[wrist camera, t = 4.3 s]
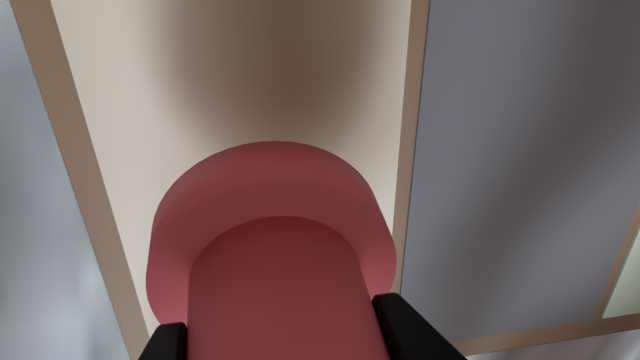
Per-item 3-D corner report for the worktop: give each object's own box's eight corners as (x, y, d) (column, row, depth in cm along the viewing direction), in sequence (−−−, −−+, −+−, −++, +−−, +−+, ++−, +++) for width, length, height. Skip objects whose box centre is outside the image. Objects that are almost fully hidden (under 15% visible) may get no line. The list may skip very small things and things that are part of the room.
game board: (147, 397, 17) (146, 409, 16) (-77, -279, 8) (-89, -282, 7) (773, 300, 20) (782, 308, 19) (1158, -276, 10) (1189, -278, 10)
